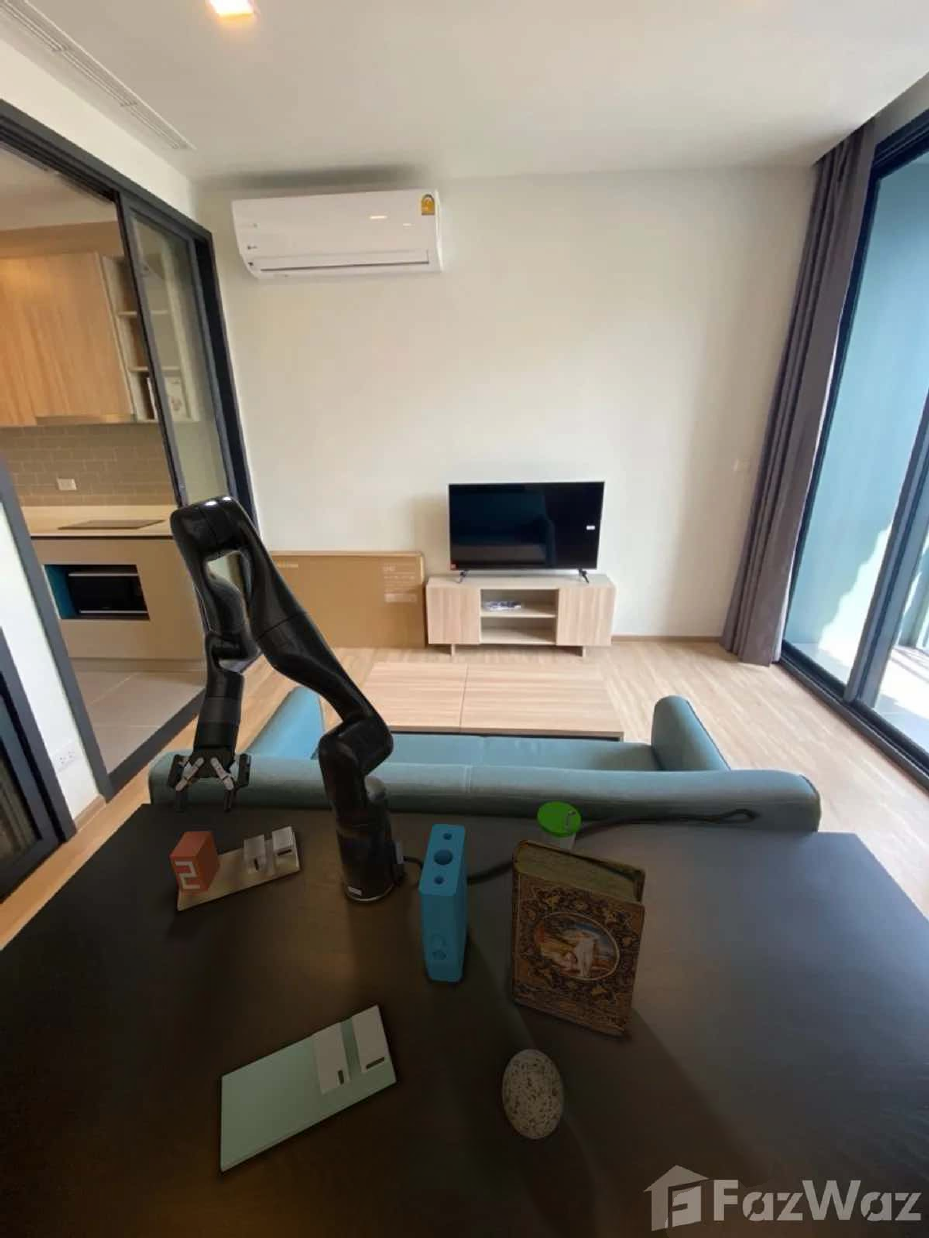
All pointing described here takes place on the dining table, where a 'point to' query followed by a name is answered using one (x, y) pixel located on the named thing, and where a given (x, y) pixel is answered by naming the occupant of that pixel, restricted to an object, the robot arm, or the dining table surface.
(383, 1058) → the switch panel board
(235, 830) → the dining table surface
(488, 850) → the dining table surface
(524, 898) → the book
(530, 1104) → the decorative egg
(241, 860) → the beige switch panel
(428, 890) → the block
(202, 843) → the orange red rectangular block
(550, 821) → the cup
